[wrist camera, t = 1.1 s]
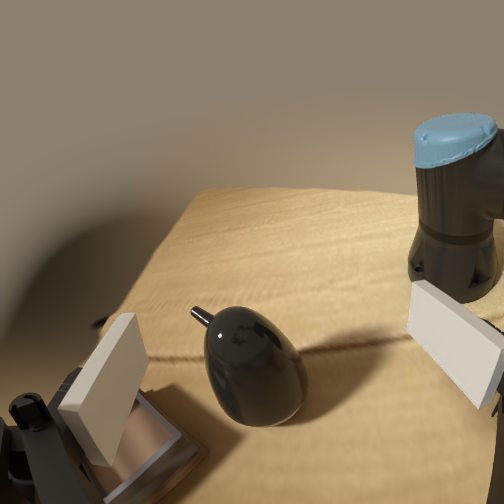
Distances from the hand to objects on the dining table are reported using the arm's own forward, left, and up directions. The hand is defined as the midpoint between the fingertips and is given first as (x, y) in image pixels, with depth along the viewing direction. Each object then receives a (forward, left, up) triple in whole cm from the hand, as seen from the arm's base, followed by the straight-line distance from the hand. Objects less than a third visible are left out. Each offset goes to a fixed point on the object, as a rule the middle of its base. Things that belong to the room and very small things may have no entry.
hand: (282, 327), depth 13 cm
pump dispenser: (-3, -11, -22) cm, 25 cm away
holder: (+14, -20, -22) cm, 33 cm away
